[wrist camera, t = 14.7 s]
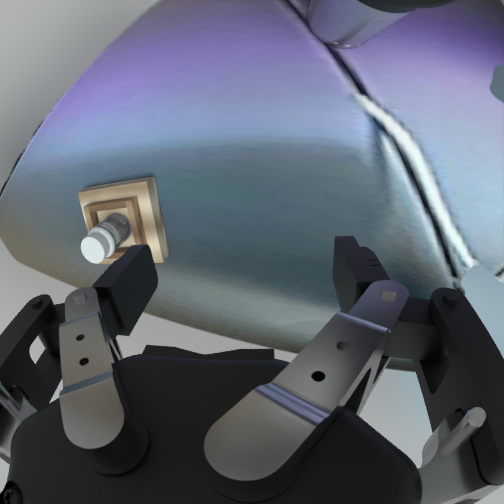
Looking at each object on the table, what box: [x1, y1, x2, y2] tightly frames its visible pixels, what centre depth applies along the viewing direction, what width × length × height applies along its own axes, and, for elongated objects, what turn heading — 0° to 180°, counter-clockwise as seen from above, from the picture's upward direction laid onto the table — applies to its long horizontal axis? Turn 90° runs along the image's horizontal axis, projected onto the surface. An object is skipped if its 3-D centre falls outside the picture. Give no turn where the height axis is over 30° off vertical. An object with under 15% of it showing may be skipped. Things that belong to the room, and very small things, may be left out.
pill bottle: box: [81, 213, 131, 263], centre depth 39 cm, size 5×5×8 cm
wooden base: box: [78, 177, 169, 264], centre depth 43 cm, size 13×13×5 cm
